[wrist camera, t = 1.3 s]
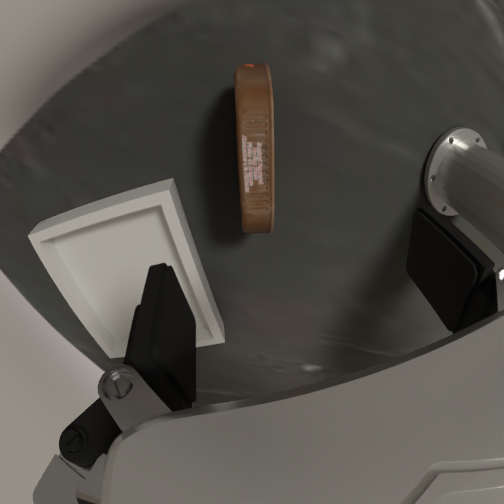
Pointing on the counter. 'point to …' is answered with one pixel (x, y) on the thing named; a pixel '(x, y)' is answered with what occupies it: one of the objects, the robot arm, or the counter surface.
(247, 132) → the tin
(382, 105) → the counter surface
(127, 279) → the white tray
